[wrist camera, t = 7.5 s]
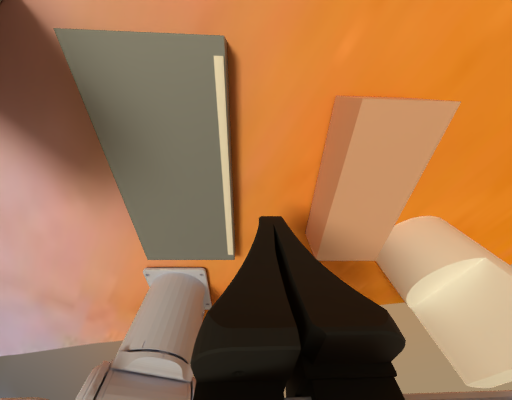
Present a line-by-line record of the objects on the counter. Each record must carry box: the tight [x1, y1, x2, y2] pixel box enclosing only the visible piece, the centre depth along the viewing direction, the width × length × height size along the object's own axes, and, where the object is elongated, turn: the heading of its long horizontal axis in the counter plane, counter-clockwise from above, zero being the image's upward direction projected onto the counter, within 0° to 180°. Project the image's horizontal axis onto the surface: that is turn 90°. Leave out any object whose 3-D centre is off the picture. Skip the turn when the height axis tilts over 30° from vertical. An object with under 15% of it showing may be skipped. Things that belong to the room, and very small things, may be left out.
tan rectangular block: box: [305, 96, 461, 261], centre depth 16 cm, size 14×6×4 cm, turn 178°
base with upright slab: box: [375, 216, 512, 388], centre depth 18 cm, size 9×9×12 cm
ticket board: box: [54, 28, 235, 260], centre depth 17 cm, size 20×10×2 cm, turn 178°
